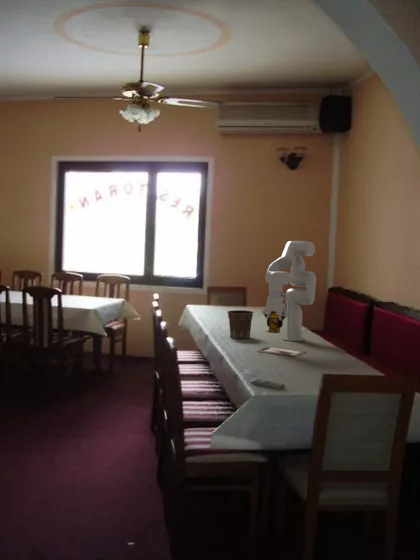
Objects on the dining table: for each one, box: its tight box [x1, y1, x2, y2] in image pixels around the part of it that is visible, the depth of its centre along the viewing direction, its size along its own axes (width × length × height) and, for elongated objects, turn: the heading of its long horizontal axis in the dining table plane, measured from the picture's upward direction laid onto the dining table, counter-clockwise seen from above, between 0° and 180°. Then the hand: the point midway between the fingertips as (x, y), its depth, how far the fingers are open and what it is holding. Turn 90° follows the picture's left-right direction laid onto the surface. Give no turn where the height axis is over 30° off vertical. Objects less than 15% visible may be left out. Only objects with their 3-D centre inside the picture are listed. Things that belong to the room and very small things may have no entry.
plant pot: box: [226, 309, 254, 340], centre depth 354 cm, size 16×16×16 cm
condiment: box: [264, 311, 282, 334], centre depth 316 cm, size 7×8×12 cm
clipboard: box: [257, 346, 307, 358], centre depth 311 cm, size 15×22×1 cm
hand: (274, 326), depth 316 cm, fingers closed on condiment, 6 cm apart
